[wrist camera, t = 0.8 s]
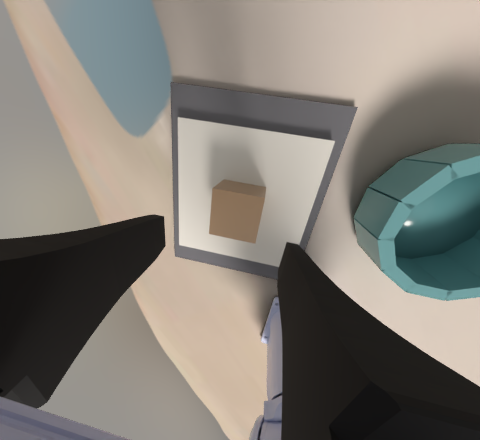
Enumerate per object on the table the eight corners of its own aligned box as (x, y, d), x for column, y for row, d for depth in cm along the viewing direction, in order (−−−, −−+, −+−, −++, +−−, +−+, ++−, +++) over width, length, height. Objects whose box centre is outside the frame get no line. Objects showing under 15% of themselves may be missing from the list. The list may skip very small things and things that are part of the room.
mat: (292, 280, 21) (292, 283, 21) (176, 254, 22) (174, 256, 22) (354, 108, 13) (357, 107, 13) (173, 83, 15) (170, 82, 14)
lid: (289, 264, 20) (294, 294, 16) (182, 241, 21) (162, 264, 17) (331, 141, 14) (355, 140, 10) (182, 118, 15) (151, 109, 11)
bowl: (443, 269, 18) (502, 313, 13) (333, 247, 19) (353, 280, 14) (536, 157, 13) (678, 165, 8) (384, 135, 14) (438, 131, 9)
